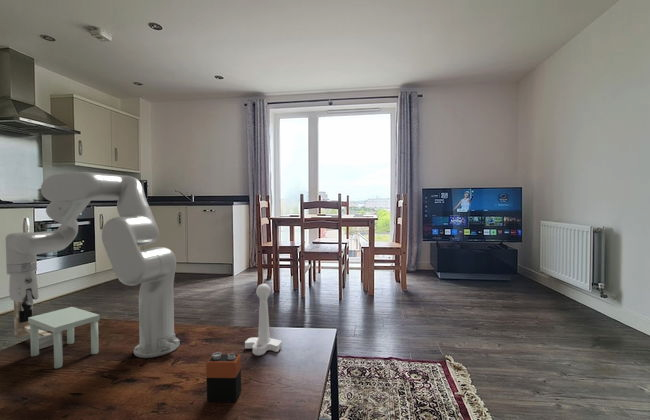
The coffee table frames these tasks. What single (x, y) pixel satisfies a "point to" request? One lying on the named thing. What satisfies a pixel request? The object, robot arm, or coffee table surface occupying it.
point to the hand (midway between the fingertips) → (23, 320)
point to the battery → (223, 377)
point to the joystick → (263, 326)
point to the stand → (59, 323)
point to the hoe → (24, 328)
